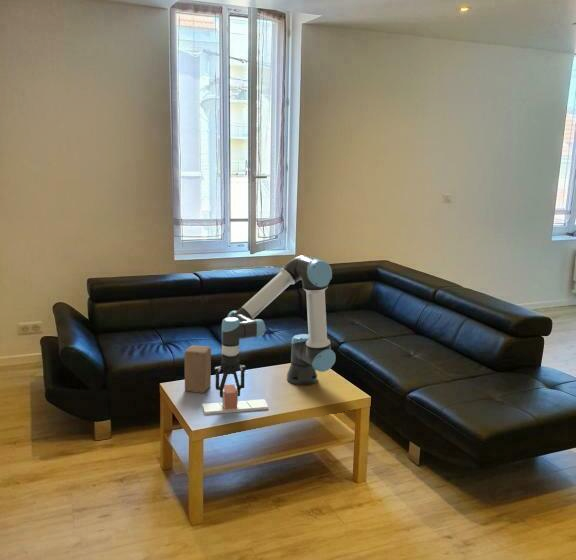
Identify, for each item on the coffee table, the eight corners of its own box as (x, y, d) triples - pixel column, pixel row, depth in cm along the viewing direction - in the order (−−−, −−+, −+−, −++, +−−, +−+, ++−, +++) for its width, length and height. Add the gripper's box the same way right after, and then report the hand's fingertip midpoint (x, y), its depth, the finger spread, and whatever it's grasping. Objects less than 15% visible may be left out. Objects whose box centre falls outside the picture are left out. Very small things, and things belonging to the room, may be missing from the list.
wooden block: (204, 393, 269) (204, 353, 264) (183, 391, 271) (183, 351, 266) (211, 385, 278) (211, 346, 274) (191, 383, 280) (191, 344, 276)
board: (264, 401, 263) (264, 399, 262) (268, 409, 255) (268, 406, 255) (202, 406, 256) (202, 403, 255) (204, 414, 248) (204, 411, 248)
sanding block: (233, 401, 259) (233, 384, 258) (237, 409, 251) (237, 392, 249) (222, 401, 258) (222, 385, 256) (225, 410, 250) (225, 393, 248)
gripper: (249, 349, 255) (248, 398, 260) (208, 351, 250) (208, 401, 256) (252, 355, 248) (251, 405, 253) (210, 357, 243) (210, 408, 248)
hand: (229, 403), depth 254 cm, fingers closed on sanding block, 5 cm apart
